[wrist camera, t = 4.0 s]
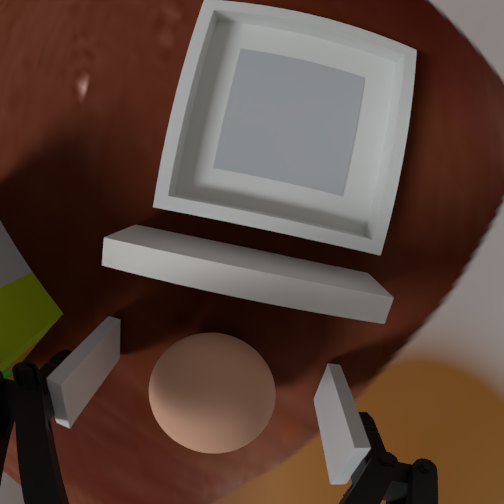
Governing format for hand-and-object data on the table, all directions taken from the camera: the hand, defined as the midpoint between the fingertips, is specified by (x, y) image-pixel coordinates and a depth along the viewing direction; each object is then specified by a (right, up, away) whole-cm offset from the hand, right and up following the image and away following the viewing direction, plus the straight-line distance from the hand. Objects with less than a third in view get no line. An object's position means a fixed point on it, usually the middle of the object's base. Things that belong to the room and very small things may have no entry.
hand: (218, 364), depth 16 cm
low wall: (+2, +6, -1) cm, 6 cm away
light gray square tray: (+4, +12, -3) cm, 13 cm away
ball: (0, 0, 0) cm, 0 cm away
